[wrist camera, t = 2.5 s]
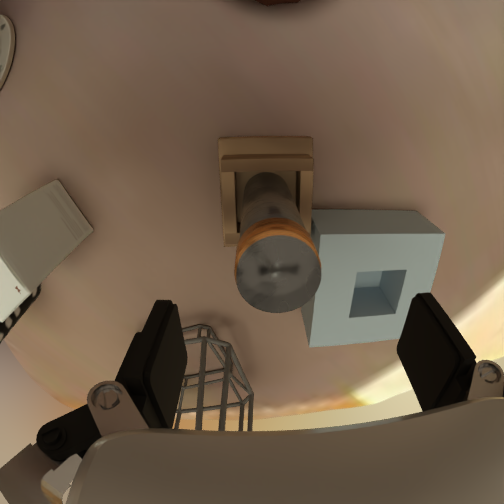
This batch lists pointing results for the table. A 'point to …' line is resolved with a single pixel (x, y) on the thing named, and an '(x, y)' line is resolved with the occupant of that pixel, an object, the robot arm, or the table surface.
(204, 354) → the geometric lantern
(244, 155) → the mount
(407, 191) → the table surface
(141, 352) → the robot arm
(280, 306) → the pin
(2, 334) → the spotted tube
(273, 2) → the muffin
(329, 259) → the socket
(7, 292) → the supplement box
